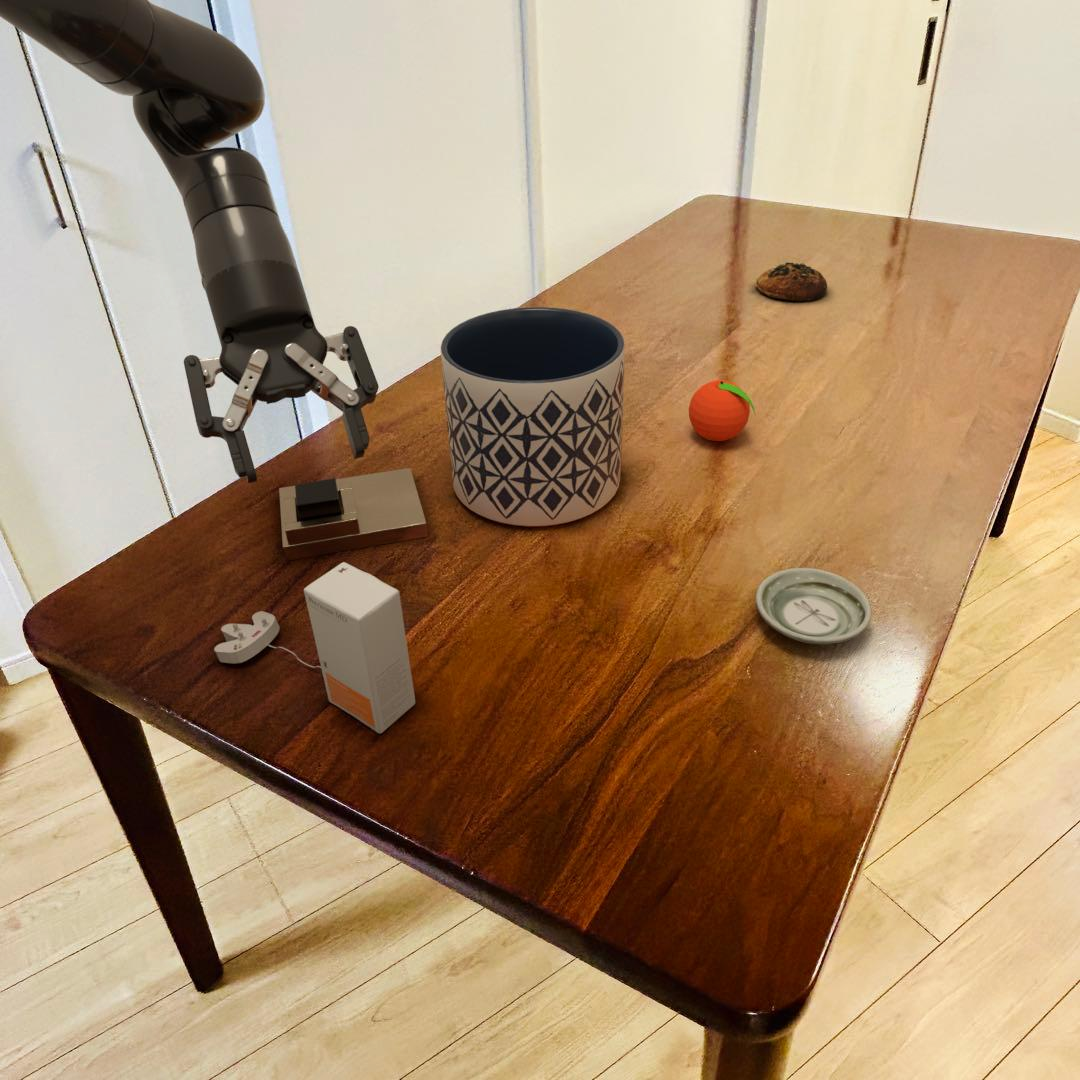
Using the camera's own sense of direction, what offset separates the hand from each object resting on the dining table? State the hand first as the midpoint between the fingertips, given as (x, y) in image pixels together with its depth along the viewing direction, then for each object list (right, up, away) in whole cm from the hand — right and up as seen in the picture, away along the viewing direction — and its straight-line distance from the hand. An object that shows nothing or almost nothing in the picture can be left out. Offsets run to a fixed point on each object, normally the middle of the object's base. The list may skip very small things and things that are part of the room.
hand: (307, 467), depth 71 cm
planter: (+18, 0, +27) cm, 33 cm away
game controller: (-4, -16, +6) cm, 17 cm away
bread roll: (+58, +34, +71) cm, 98 cm away
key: (-4, -3, +18) cm, 19 cm away
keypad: (-1, -4, +22) cm, 23 cm away
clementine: (+39, +6, +34) cm, 52 cm away
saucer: (+42, -13, +8) cm, 45 cm away
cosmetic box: (+5, -19, +1) cm, 20 cm away
